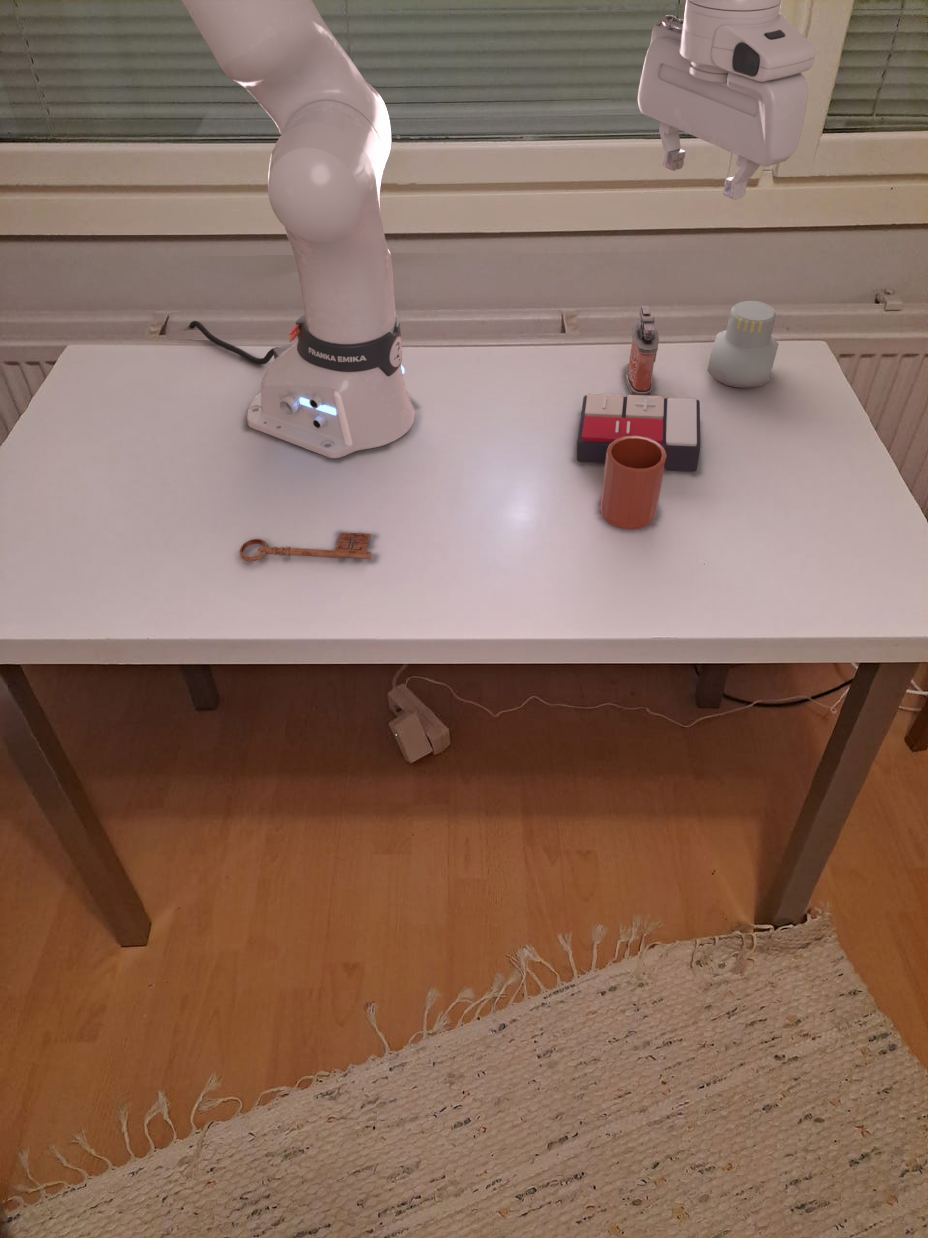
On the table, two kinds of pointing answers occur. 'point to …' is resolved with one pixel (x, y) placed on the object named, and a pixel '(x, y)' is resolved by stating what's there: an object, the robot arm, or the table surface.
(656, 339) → the lighter
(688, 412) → the calculator
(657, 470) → the cup
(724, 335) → the air freshener
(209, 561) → the table surface
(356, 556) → the key
